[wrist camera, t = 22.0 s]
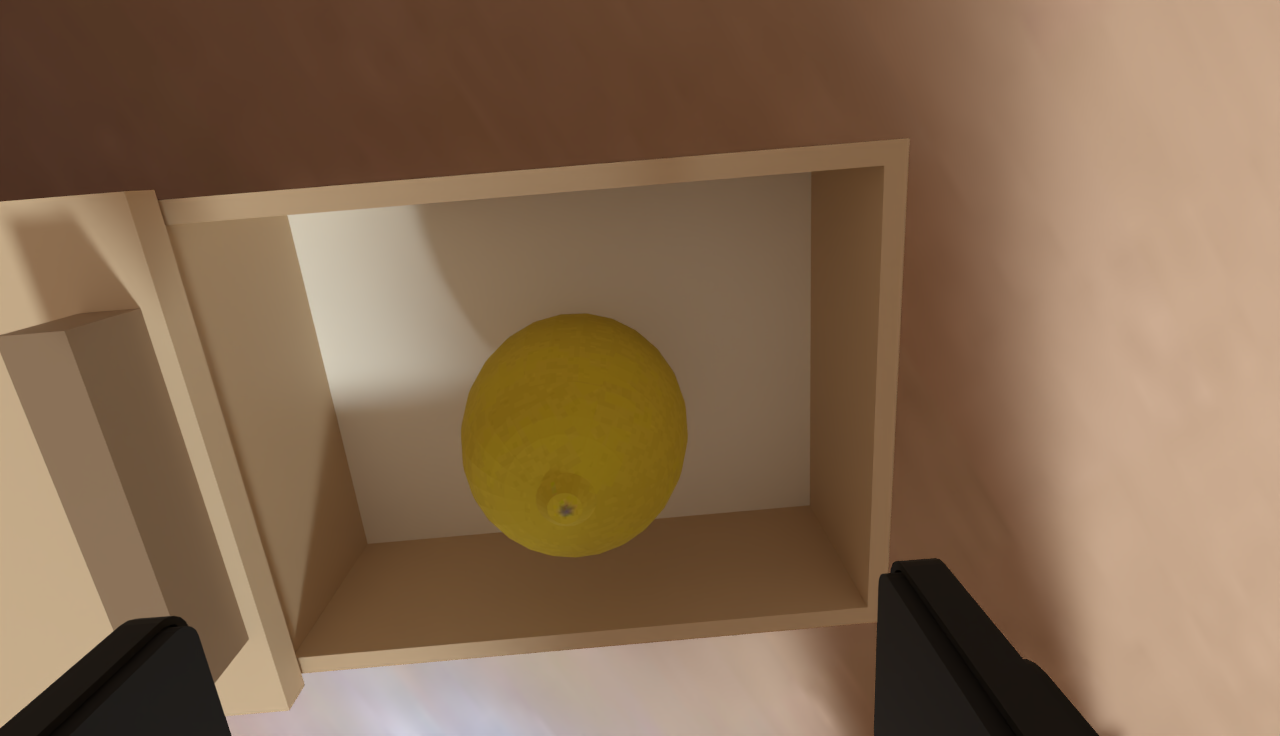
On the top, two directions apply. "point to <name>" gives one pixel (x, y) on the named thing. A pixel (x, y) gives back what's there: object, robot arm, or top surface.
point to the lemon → (574, 435)
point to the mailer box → (508, 302)
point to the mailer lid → (119, 460)
